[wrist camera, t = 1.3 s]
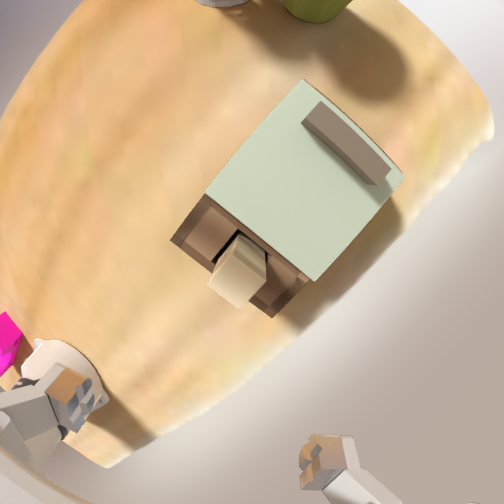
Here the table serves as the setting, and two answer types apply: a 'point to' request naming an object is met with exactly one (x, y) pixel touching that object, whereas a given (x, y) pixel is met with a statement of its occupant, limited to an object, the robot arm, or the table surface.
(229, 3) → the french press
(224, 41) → the table surface
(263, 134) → the lid
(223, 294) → the wooden block
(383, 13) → the table surface
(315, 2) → the plant pot
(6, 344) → the toy block
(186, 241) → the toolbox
